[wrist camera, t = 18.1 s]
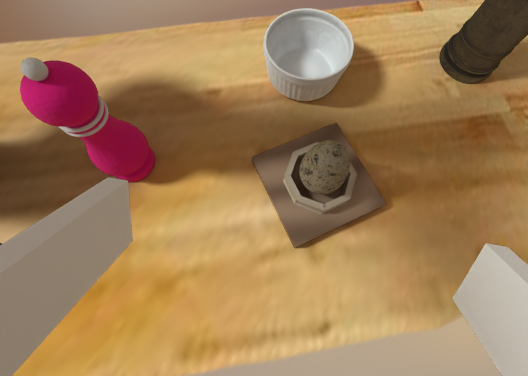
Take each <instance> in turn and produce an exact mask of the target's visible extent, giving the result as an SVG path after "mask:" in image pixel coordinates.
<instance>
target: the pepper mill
mask: <svg viewBox="0 0 528 376" xmlns="http://www.w3.org/2000/svg"><path fill="white" fill-rule="evenodd" d="M21 70H22V72H23V74H24V77H23V79H22V81H21V86H20V93H21V98H22V100H23V103H24V105H25V106H26V107H27V109H28V110H29V111H30V112H31V113H32V114H33V115H34V116H35V117H36V118H38V119H40V120H41V121H43V122H45V123H47V124H49V125H53V126H58V127H59V128H60V129H62V130H63V131H64V132H65V133H67V134H69V135H71V136H74V137H79V138H80V139H81V140H83V141H84V143H85V144H86V148H87V153H88V155H89V157H90V159H91V161H92V162H93V164H94V165H95V166H96V167H97V168H98V169H99V170H101V171H102V172H104V173H106V174H109V175H113V176H116V177H117V178H118V179H121V180H127V181H128V182H136V181H139V180H142V179H143V178H145V177H146V176H148V175H149V174H150V172H151V171H152V169H153V167H154V164H155V156H154V153H153V151H152V150H151V149H150V147H149V145H148V142H147V139H146V137H145V136H144V134H143V133H142V132H141V131H140V130H139V129H138V128H136V127H135V126H133V125H131V124H130V123H128V122H125V121H122V120H118V119H116V118H114V117H112V116H111V115H110V114H109V112H108V107H107V105H106V103H105V102H104V101H103V100H102V99H101V98H100V96H99V95H98V91H97V88H96V85H95V84H94V82H93V81H92V79H91V78H90V77H89V76H88V75H87V74H86V73H85V72H84V71H82V70H81V69H80V68H78V67H76V66H75V65H73V64H70V63H67V62H62V61H46V62H42V61H41V60H39V59H36V58H27V59H25V60H23V61H22V63H21Z"/></svg>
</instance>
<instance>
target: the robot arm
mask: <svg viewBox="0 0 528 376" xmlns="http://www.w3.org/2000/svg"><path fill="white" fill-rule="evenodd" d="M132 241H133V237H132V225H131V213H130V201H129V189H128V181H127V180H121V179H115V178H109V177H107V178H106V179H104V180H103V181H101V182H100V183H98V184H96V185H95V186H93V187H92V188H90V189H89V190H87V191H85V192H84V193H82V194H81V195H79V196H77V197H76V198H74V199H73V200H71V201H70V202H68V203H66V204H65V205H63V206H62V207H60V208H59V209H57V210H55V211H54V212H52V213H51V214H49V215H47V216H46V217H44V218H43V219H41V220H40V221H38V222H36V223H35V224H33V225H32V226H30V227H28V228H27V229H25V230H24V231H22V232H21V233H19V234H17V235H16V236H14V237H13V238H11V239H10V240H8V241H6V242H5V243H3V244H2V243H0V376H12V375H13V374H14V373H15V372H16V371H17V369H18V368H19V367H20V366H21V365H22V364H23V363H24V362H25V361H26V359H27V358H28V357H29V356H30V355H31V354H32V353H33V352H34V351H35V349H36V348H37V347H38V346H39V345H40V344H41V343H42V342H43V340H44V339H45V338H46V337H47V336H48V335H49V334H50V333H51V332H52V330H53V329H54V328H55V327H56V326H57V325H58V324H59V323H60V321H61V320H62V319H63V318H64V317H65V316H66V315H67V314H68V313H69V311H70V310H71V309H72V308H73V307H74V306H75V305H76V304H77V302H78V301H79V300H80V299H81V298H82V297H83V296H84V295H85V294H86V292H87V291H88V290H89V289H90V288H91V287H92V286H93V285H94V283H95V282H96V281H97V280H98V279H99V278H100V277H101V276H102V275H103V273H104V272H105V271H106V270H107V269H108V268H109V267H110V266H111V264H112V263H113V262H114V261H115V260H116V259H117V258H118V257H119V256H120V254H121V253H122V252H123V251H124V250H125V249H126V248H127V247H128V245H129V244H130V243H131V242H132ZM452 299H453V301H454V302H455V304H456V306H457V307H458V309H459V310H460V312H461V313H462V315H463V316H464V318H465V319H466V321H467V323H468V324H469V325H470V327H471V329H472V330H473V332H474V333H475V335H476V336H477V338H478V339H479V341H480V343H481V344H482V346H483V347H484V349H485V350H486V352H487V353H488V355H489V356H490V358H491V360H492V361H493V363H494V364H495V366H496V367H497V369H498V370H499V372H500V374H501V375H502V376H528V265H527V264H526V263H525V262H524V261H523V260H522V259H521V258H519V257H518V256H517V255H516V254H515V253H514V252H513V251H512V250H510V249H509V248H508V247H505V246H499V245H493V244H487V243H486V244H485V245H484V247H483V249H482V250H481V252H480V254H479V255H478V257H477V259H476V260H475V262H474V264H473V265H472V267H471V269H470V270H469V272H468V274H467V275H466V277H465V279H464V280H463V282H462V284H461V285H460V287H459V289H458V290H457V292H456V294H455V295H454V297H453V298H452Z"/></svg>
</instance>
